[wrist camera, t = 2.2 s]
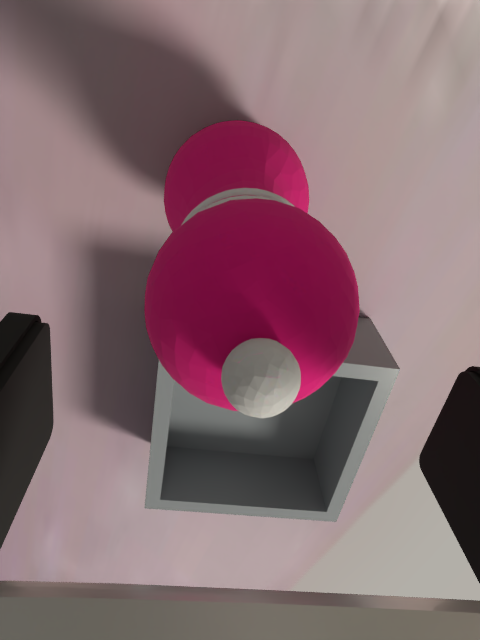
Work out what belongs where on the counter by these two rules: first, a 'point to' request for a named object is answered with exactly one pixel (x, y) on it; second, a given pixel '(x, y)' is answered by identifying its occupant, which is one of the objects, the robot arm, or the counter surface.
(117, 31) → the counter surface
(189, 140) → the pepper mill
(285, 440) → the bin
